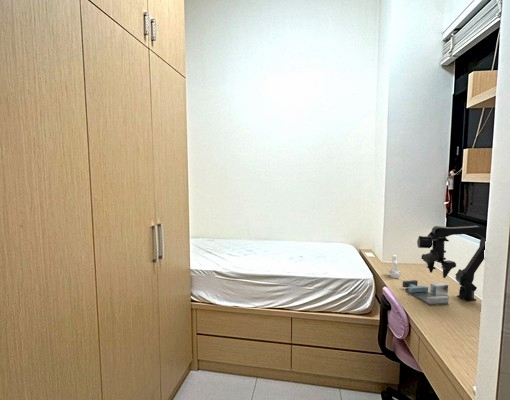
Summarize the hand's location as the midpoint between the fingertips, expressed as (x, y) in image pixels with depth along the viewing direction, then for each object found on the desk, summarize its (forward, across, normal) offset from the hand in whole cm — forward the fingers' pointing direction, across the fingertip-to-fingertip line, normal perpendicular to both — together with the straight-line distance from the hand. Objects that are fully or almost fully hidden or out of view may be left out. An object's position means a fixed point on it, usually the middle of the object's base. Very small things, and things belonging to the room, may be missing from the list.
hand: (437, 275), depth 165 cm
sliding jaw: (+11, -9, -8) cm, 16 cm away
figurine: (+12, -32, -4) cm, 34 cm away
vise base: (+12, +1, -8) cm, 15 cm away
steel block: (+12, -2, +3) cm, 13 cm away
